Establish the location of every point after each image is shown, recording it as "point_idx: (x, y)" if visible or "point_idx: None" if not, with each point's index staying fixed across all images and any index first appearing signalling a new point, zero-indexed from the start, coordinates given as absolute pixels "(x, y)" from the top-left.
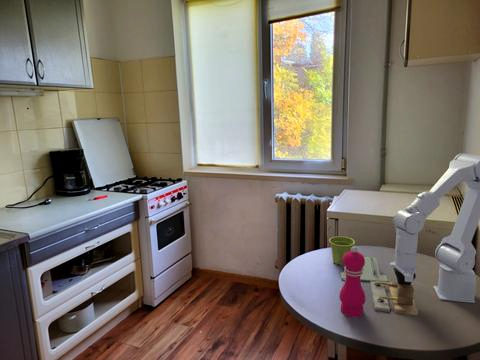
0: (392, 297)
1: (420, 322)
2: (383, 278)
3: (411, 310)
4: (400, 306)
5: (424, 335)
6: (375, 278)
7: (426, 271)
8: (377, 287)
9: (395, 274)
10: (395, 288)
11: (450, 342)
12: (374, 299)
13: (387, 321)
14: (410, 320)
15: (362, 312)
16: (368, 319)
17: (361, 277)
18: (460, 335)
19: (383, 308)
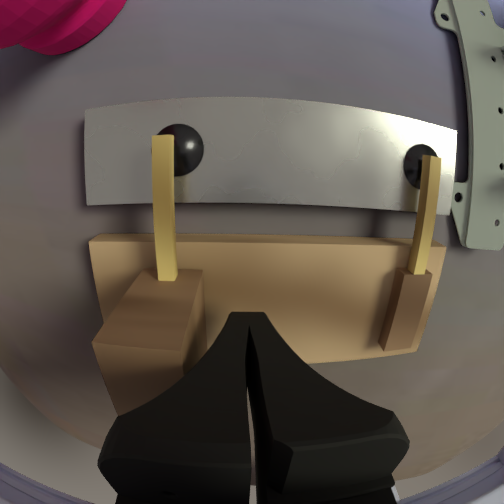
0: (163, 244)
1: (68, 334)
2: (485, 228)
3: None
4: (125, 278)
5: (3, 319)
6: (486, 178)
7: (489, 392)
8: (386, 157)
9: (129, 432)
10: (374, 284)
11: (17, 378)
12: (185, 103)
13: (19, 184)
14: (62, 297)
15: (39, 52)
16: (18, 91)
17: (484, 92)
18: (65, 416)
19: (85, 164)
